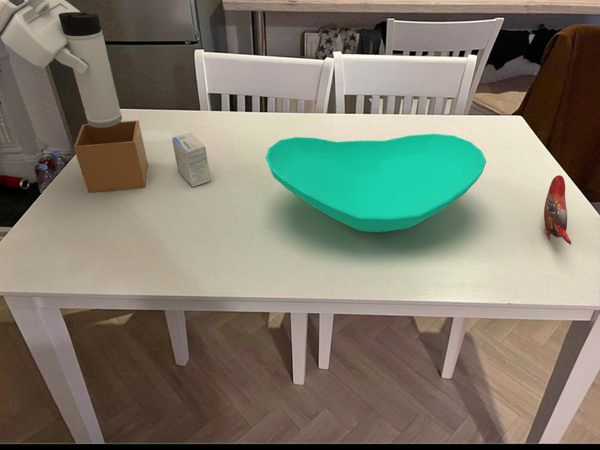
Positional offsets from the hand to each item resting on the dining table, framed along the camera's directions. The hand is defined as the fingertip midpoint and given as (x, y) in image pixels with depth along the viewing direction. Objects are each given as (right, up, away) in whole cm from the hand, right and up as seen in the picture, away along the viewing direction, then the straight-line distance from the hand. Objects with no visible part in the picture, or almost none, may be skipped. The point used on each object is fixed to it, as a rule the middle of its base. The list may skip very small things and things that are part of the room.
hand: (93, 62), depth 83 cm
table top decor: (+51, -27, +8) cm, 58 cm away
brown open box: (-3, -19, +18) cm, 26 cm away
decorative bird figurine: (+83, -32, +2) cm, 89 cm away
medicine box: (+14, -19, +19) cm, 30 cm away
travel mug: (-1, -9, +7) cm, 11 cm away
